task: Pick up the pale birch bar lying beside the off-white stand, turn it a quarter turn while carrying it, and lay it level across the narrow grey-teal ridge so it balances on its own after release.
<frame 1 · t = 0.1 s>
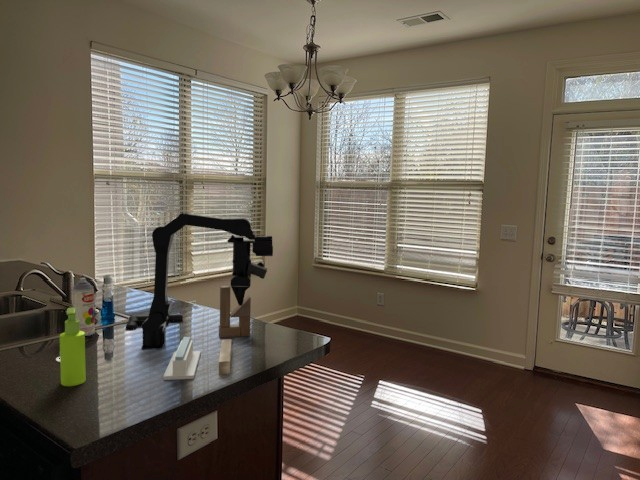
hand: (241, 302, 160), 15 cm above the counter, tool pointing down, fingers open, 9 cm apart
wooden block: (234, 336, 171), on the counter
aerosol can: (83, 334, 167), on the counter
door handle: (154, 327, 180), on the counter
teacup and saucer: (78, 356, 147), on the counter
ridge stand: (183, 366, 140), on the counter
birch bar: (225, 362, 145), on the counter
soap dispenser: (73, 383, 126), on the counter
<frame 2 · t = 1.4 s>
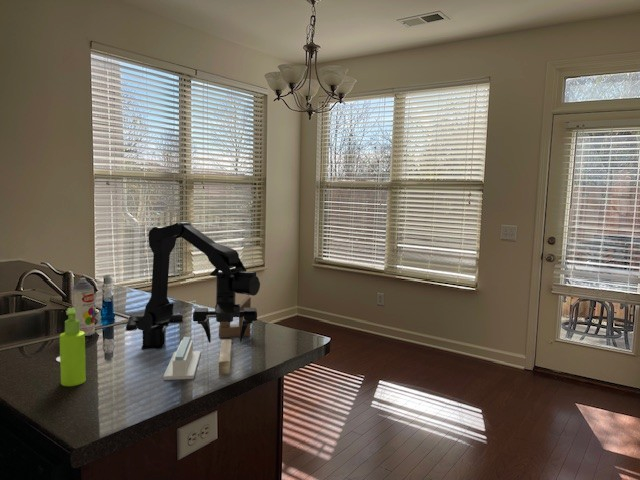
hand: (225, 342, 144), 6 cm above the counter, tool pointing down, fingers open, 9 cm apart
nothing on the counter moved.
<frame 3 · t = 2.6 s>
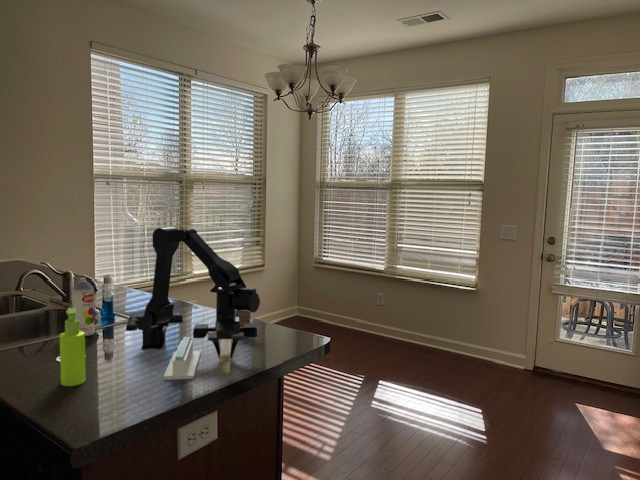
hand: (225, 358, 145), 1 cm above the counter, tool pointing down, fingers closed on birch bar, 3 cm apart
birch bar: (225, 362, 145), on the counter, touching gripper
everything else where it was.
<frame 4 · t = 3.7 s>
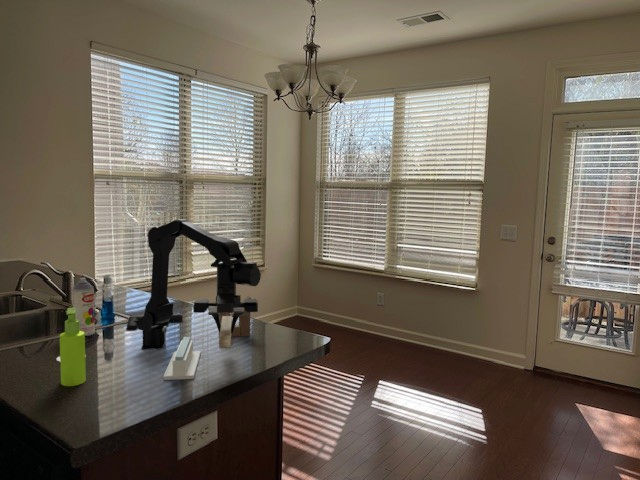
hand: (226, 333, 144), 9 cm above the counter, tool pointing down, fingers closed on birch bar, 3 cm apart
birch bar: (226, 337, 144), point 7 cm above the counter, touching gripper
everything else where it was.
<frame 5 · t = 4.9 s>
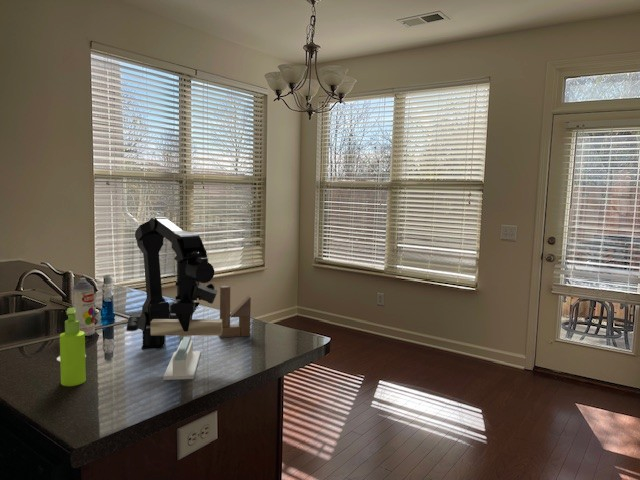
hand: (186, 329, 140), 11 cm above the counter, tool pointing down, fingers closed on birch bar, 3 cm apart
birch bar: (187, 333, 140), point 10 cm above the counter, touching gripper
everything else where it was.
when the fingers open (8 cm above the counter, at t = 6.8 s): birch bar stays where it is, resting on ridge stand.
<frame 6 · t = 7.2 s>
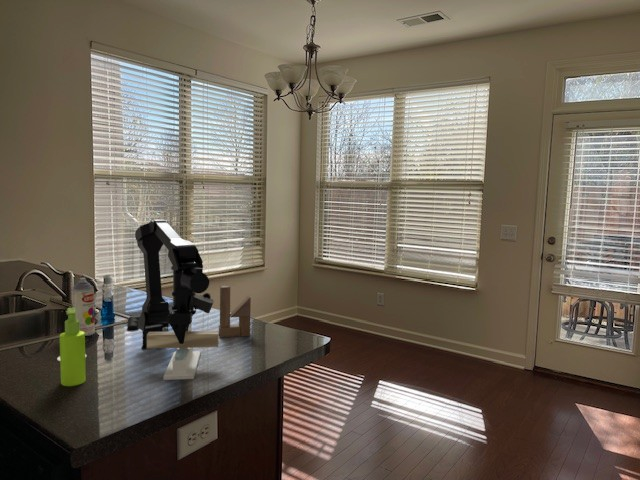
hand: (183, 339, 139), 8 cm above the counter, tool pointing down, fingers open, 7 cm apart
birch bar: (183, 346, 140), point 6 cm above the counter, touching ridge stand
everything else where it was.
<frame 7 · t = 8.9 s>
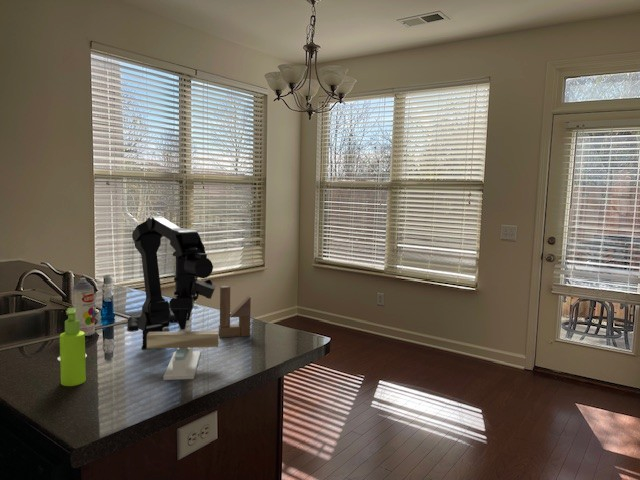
hand: (185, 324, 141), 12 cm above the counter, tool pointing down, fingers open, 9 cm apart
nothing on the counter moved.
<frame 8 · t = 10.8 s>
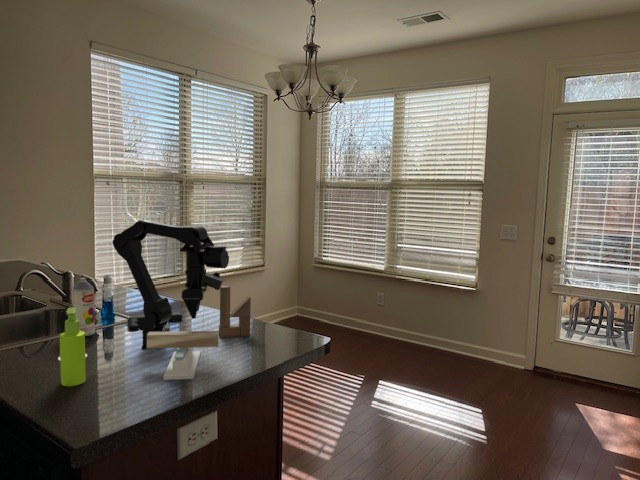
hand: (195, 314, 152), 12 cm above the counter, tool pointing down, fingers open, 9 cm apart
nothing on the counter moved.
at the end: birch bar 0.0 cm off-centre on the ridge stand, point 6.0 cm above the ridge stand's base; birch bar tilted 0°; birch bar touching ridge stand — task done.
